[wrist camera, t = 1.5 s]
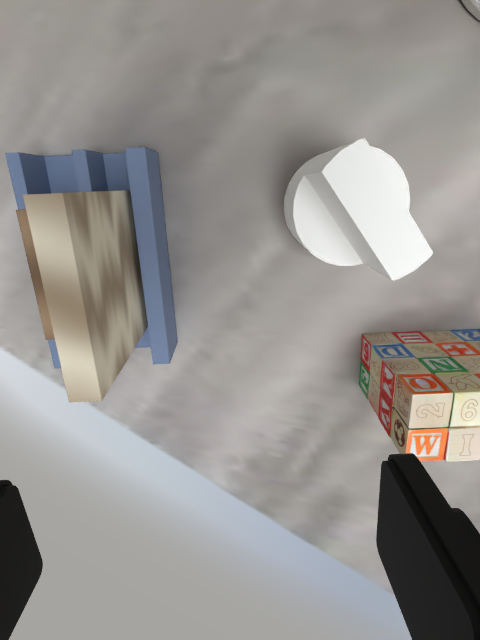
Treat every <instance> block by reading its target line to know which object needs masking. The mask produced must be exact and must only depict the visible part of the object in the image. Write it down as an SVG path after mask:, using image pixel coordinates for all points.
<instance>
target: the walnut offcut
mask: <svg viewBox="0 0 480 640" xmlns="http://www.w3.org/2000/svg"><path fill="white" fill-rule="evenodd" d="M16 212H17V217H18V221H19V225H20V230H21V234H22V238H23V243H24V247H25V251H26V256H27V260H28V264H29V268H30V273H31V277H32V281H33V286H34V290H35V294H36V299H37V303H38V307H39V312H40V316H41V320H42V325H43V329H44V333H45V338H46V340H54V339H55V337H54V333H53V328H52V324H51V319H50V315H49V310H48V306H47V301H46V297H45V292H44V288H43V283H42V279H41V274H40V270H39V265H38V261H37V256H36V252H35V247H34V243H33V238H32V234H31V229H30V225H29V220H28V216H27V211H26V209H21V210H16Z"/></svg>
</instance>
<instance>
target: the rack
mask: <svg viewBox="0 0 480 640" xmlns="http://www.w3.org/2000/svg"><path fill="white" fill-rule="evenodd" d="M5 154H6V159H7V163H8V167H9V172H10V176H11V180H12V185H13V189H14V194H15V198H16V202H17V207H18V210H21V209H26V207H25V202H24V198H23V195H27V194H51V193H75V192H99V191H123V190H130V191H131V199H132V206H133V214H134V222H135V229H136V237H137V244H138V252H139V260H140V267H141V275H142V283H143V290H144V298H145V306H146V313H147V321H148V327H147V329H146V331H145V332H144V334H143V336H142V337H141V339H140V340H139V342H138V344H137V345H136V347H135V348H139V347H151V352H152V359H153V364H170V361H171V358H172V356H173V353H174V350H175V348H176V345H177V342H178V341H177V332H176V322H175V312H174V303H173V293H172V284H171V274H170V264H169V255H168V245H167V236H166V226H165V216H164V207H163V197H162V188H161V178H160V169H159V159H158V152H155V151H153V150H151V149H148V148H146V147H134V148H125V153H112V154H101V153H97V152H93V151H89V150H72V155H65V156H38V155H32V154H25V153H19V152H18V153H5ZM48 342H49V346H50V350H51V355H52V359H53V363H54V368H61V364H60V360H59V355H58V351H57V346H56V342H55V339H54V340H48Z"/></svg>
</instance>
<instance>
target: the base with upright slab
mask: <svg viewBox="0 0 480 640" xmlns="http://www.w3.org/2000/svg"><path fill="white" fill-rule="evenodd" d="M409 205H410V194H409V185H408V182H407V179H406V177H405V175H404V172H403V170H402V168H401V167H400V166H399V165H398V163H397V162H396V161H395V160H394V158H393V157H391V156H390V155H388V154H387V153H385V152H384V151H382V150H381V149H378V148H375V147H371V146H369V144H368V143H367V141H366V139H365V138H363V139H360V140H357V141H354V142H352V143H349V144H346V145H343V146H341V147H338V148H335V149H333V150H330V151H327V152H325V153H322V154H319V155H317V156H315V157H313V158H312V159H310V160H308V161H307V162H305V163H304V164H303V165H302V166H301V167H300V168H299V169H298V170H297V171H296V172H295V174H294V175H293V177H292V179H291V181H290V182H289V184H288V187H287V190H286V194H285V197H284V215H285V219H286V224H287V226H288V228H289V230H290V232H291V234H292V235H293V236H294V237H295V239H296V240H297V241H298V242H299V243H300V244H301V245H302V246H303V247H305V248H306V249H307V250H308V251H309V252H310V253H311V254H312V255H314V256H316V257H317V258H319V259H321V260H322V261H324V262H326V263H330V264H334V265H338V266H354V265H358V264H362V263H364V264H366V265H367V266H369V267H371V268H372V269H374V270H376V271H377V272H379V273H381V274H382V275H384V276H386V277H387V278H389V279H390V280H392V281H394V280H397V279H400V278H401V277H403V276H405V275H407V274H409V273H411V272H413V271H415V270H416V269H417V268H418V267H419V266H420V265H422V264H423V263H424V262H425V261H426V260H427V259H429V258H430V256H431V255H432V254H433V251H432V250H431V248H430V246H429V245H428V243H427V241H426V240H425V238H424V236H423V235H422V233H421V231H420V230H419V228H418V226H417V225H416V223H415V221H414V220H413V218H412V216H411V215H410V213H409Z"/></svg>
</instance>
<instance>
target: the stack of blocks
mask: <svg viewBox="0 0 480 640" xmlns="http://www.w3.org/2000/svg"><path fill="white" fill-rule="evenodd" d="M359 386H360V387H361V389H362V391H363V393H364V394H365V396H366V398H367V399H368V400H369V402H370V404H371V406H372V407H373V409H374V411H375V412H376V414H377V416H378V417H379V420H380V422H381V424H382V425H383V427H384V429H385V430H386V432H387V434H388V435H389V437H390V438H391V439H392V441H393V442H394V444H395V446H396V448H397V449H398V451H399V453H400V454H406V453H413V454H415V455H416V457H417V458H418V459H419V461H438V460H443V459H444V460H445V461H447V462H451V461H469V460H480V329H471V330H451V331H432V332H419V331H418V332H394V333H365V334H362V344H361V367H360V381H359Z"/></svg>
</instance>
